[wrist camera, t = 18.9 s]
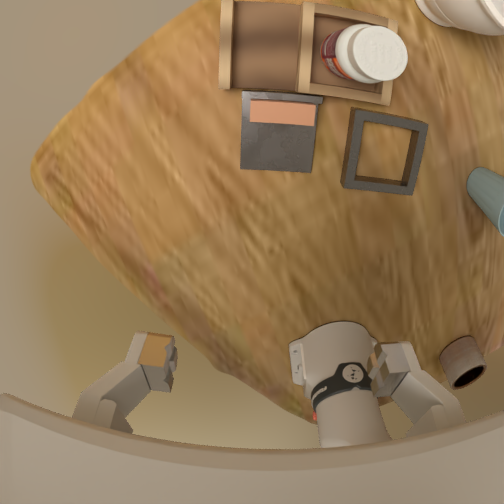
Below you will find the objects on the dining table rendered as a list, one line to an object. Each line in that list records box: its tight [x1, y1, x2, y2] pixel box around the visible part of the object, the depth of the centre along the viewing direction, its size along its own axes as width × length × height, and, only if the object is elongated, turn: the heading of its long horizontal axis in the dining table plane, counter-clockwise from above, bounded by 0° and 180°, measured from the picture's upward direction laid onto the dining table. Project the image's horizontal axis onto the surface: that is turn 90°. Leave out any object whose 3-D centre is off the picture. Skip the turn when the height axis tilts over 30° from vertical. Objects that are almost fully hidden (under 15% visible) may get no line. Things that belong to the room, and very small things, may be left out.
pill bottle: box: [320, 24, 408, 83], centre depth 24 cm, size 6×6×11 cm
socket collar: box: [340, 107, 428, 195], centre depth 36 cm, size 10×10×2 cm
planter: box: [440, 336, 487, 390], centre depth 59 cm, size 11×11×10 cm
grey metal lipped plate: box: [240, 90, 323, 173], centre depth 35 cm, size 10×9×3 cm
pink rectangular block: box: [250, 99, 316, 126], centre depth 32 cm, size 2×7×4 cm, turn 88°
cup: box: [467, 167, 504, 237], centre depth 34 cm, size 8×8×10 cm
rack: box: [219, 0, 398, 106], centre depth 28 cm, size 11×20×4 cm, turn 88°
